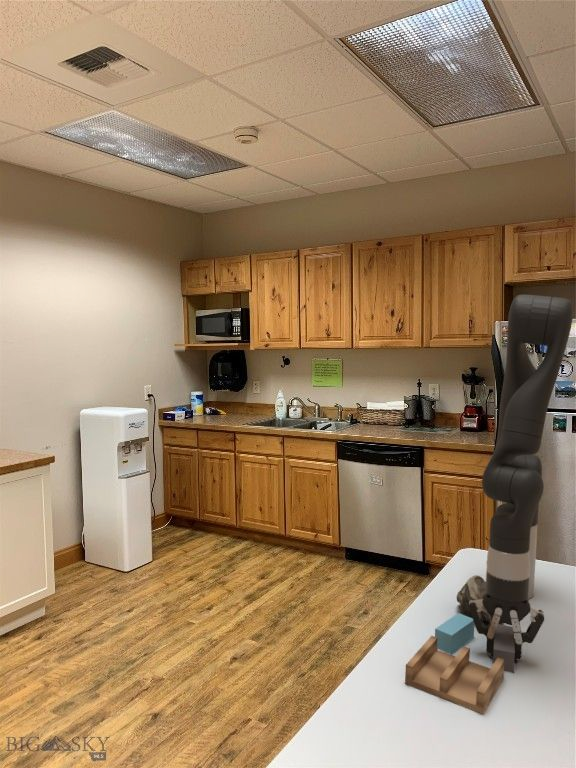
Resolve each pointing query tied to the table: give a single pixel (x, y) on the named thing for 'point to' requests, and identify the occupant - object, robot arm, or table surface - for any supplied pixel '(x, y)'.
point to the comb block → (454, 676)
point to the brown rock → (472, 596)
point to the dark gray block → (504, 646)
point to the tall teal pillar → (454, 633)
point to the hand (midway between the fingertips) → (503, 657)
